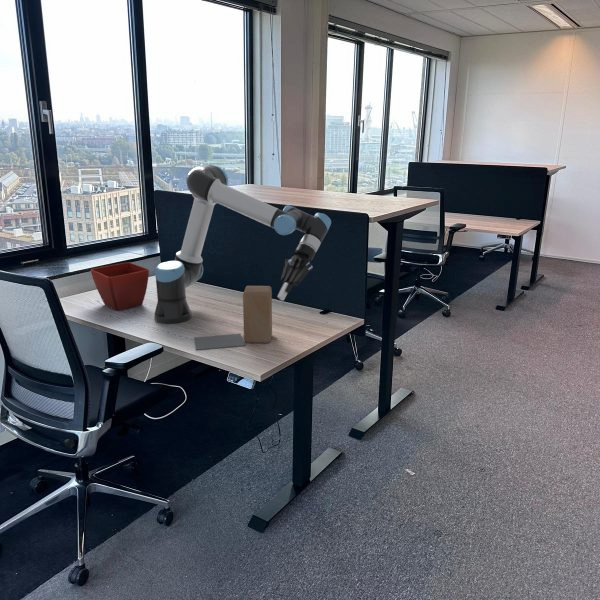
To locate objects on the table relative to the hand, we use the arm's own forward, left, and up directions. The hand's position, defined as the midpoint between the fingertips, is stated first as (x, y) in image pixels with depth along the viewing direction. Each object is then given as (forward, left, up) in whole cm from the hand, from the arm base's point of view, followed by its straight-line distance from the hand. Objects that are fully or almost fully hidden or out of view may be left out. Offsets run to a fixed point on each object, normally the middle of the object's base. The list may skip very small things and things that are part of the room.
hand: (280, 298), depth 202 cm
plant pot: (-61, +55, -16) cm, 84 cm away
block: (-9, 0, -16) cm, 18 cm away
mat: (-24, 0, -15) cm, 28 cm away
